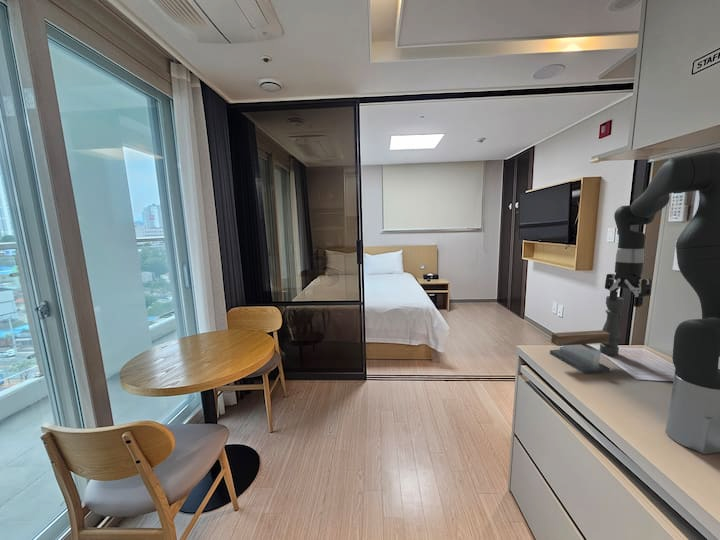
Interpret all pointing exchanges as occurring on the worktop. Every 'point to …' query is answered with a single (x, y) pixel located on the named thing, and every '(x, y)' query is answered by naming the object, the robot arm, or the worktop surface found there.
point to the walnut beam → (580, 337)
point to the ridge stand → (581, 358)
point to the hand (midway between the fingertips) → (624, 303)
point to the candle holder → (612, 326)
